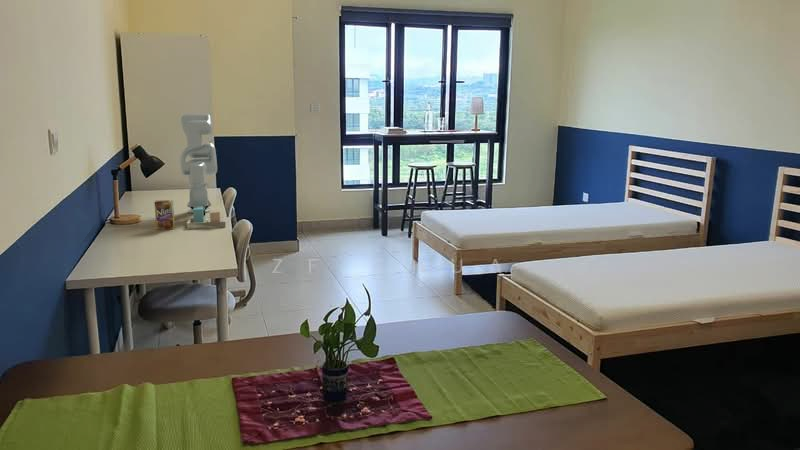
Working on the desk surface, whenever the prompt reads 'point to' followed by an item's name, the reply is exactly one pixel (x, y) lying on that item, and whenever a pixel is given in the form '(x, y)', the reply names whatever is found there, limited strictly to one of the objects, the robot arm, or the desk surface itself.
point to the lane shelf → (206, 224)
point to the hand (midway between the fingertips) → (200, 216)
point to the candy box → (164, 214)
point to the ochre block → (215, 216)
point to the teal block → (198, 215)
